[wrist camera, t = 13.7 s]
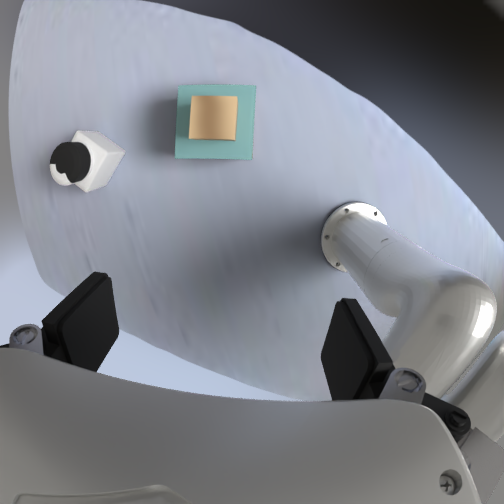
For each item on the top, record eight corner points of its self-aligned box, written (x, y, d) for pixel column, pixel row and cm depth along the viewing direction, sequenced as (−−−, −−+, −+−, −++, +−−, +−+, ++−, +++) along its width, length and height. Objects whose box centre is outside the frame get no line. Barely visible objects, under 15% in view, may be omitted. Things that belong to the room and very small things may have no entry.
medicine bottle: (98, 130, 38) (57, 129, 27) (127, 151, 40) (90, 154, 29) (79, 165, 40) (38, 174, 29) (106, 186, 42) (68, 200, 31)
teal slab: (255, 91, 34) (256, 85, 30) (251, 159, 38) (251, 160, 34) (184, 91, 34) (178, 85, 30) (181, 157, 37) (174, 158, 34)
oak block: (238, 103, 31) (237, 96, 27) (235, 141, 33) (234, 139, 28) (198, 102, 31) (191, 95, 26) (196, 139, 33) (188, 138, 28)
